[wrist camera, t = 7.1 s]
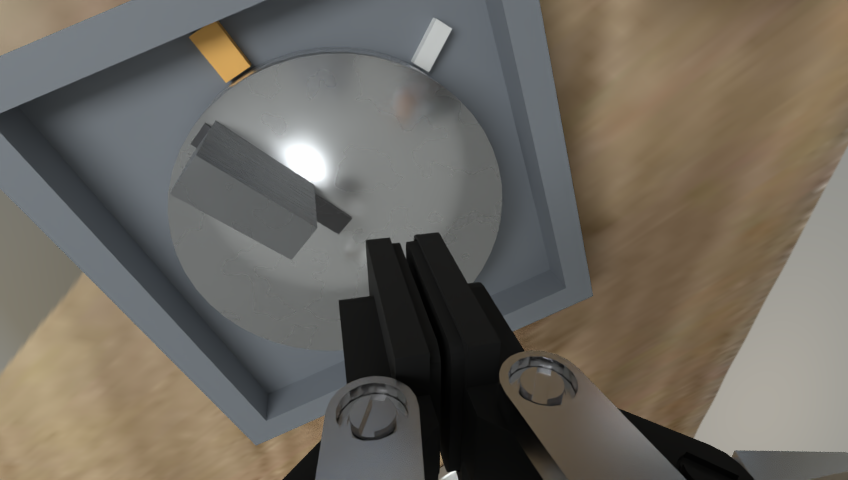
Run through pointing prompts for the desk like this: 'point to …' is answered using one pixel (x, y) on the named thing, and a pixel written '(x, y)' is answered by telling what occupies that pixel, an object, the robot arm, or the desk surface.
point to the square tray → (184, 104)
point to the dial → (325, 187)
